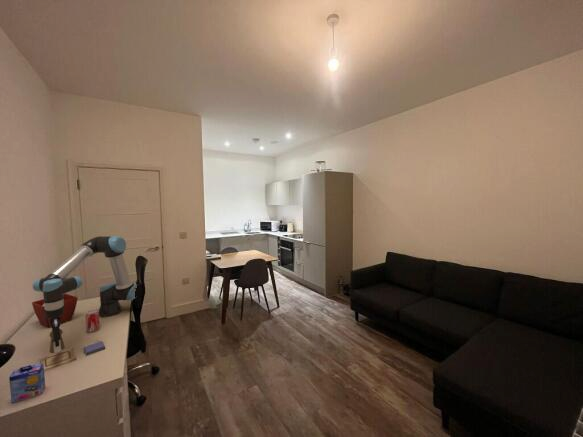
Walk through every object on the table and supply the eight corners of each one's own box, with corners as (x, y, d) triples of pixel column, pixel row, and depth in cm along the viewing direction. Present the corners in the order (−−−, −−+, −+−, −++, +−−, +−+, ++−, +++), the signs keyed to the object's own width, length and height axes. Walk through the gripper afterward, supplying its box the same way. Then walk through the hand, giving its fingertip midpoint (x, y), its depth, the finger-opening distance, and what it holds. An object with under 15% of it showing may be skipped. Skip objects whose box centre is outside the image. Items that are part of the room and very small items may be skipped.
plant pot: (66, 314, 191) (65, 293, 190) (79, 319, 183) (78, 297, 182) (32, 325, 174) (31, 302, 173) (45, 331, 166) (43, 307, 165)
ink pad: (102, 343, 151) (102, 340, 151) (105, 348, 145) (105, 346, 145) (83, 349, 144) (83, 346, 144) (85, 356, 138) (85, 353, 138)
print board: (73, 349, 145) (73, 347, 145) (76, 359, 135) (76, 357, 135) (39, 360, 134) (39, 358, 134) (40, 372, 125) (40, 370, 125)
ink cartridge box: (10, 404, 105) (7, 372, 104) (15, 395, 110) (12, 365, 109) (42, 394, 111) (39, 363, 110) (45, 386, 115) (43, 357, 114)
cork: (56, 346, 137) (54, 327, 136) (67, 346, 138) (66, 327, 137) (46, 353, 131) (44, 333, 130) (58, 352, 132) (57, 332, 131)
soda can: (99, 326, 171) (98, 308, 170) (100, 330, 166) (99, 311, 165) (86, 330, 166) (84, 311, 166) (87, 334, 161) (85, 315, 160)
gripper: (43, 305, 136) (46, 345, 138) (45, 315, 124) (48, 359, 125) (62, 301, 142) (64, 339, 143) (65, 311, 129) (68, 353, 131)
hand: (57, 349), depth 134 cm, fingers closed on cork, 6 cm apart
